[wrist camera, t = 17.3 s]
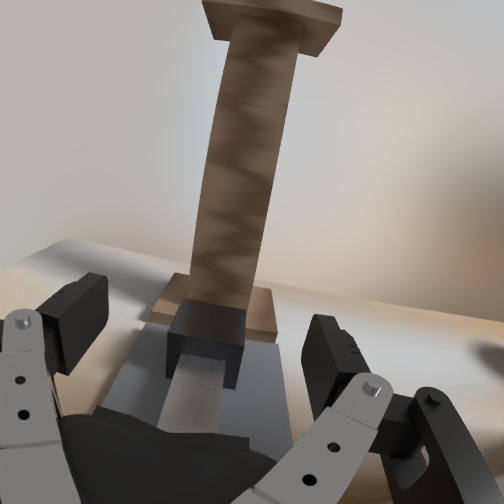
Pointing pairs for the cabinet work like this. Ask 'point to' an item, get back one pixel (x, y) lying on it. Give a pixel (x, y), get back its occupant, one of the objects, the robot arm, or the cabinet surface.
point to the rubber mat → (232, 401)
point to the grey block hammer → (201, 364)
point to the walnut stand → (245, 152)
